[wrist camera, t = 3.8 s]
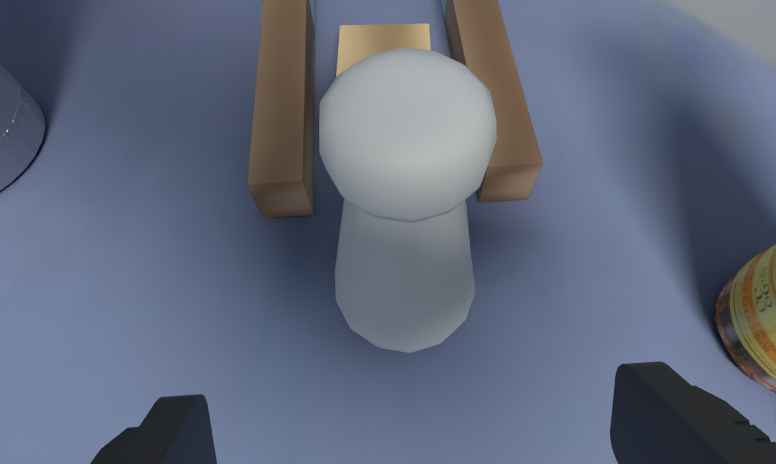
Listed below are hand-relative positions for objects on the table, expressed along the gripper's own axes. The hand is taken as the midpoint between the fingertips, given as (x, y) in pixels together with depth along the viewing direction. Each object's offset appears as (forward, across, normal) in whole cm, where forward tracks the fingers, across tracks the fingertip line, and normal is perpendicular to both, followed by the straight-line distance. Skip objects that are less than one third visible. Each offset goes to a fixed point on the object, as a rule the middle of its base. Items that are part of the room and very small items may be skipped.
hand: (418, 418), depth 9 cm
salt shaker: (+12, +1, -3) cm, 13 cm away
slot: (+21, +1, +6) cm, 21 cm away
